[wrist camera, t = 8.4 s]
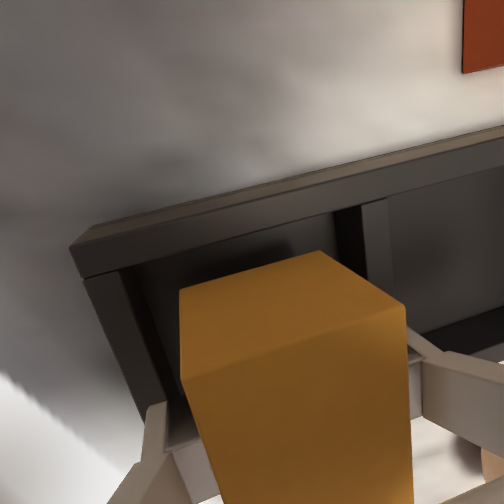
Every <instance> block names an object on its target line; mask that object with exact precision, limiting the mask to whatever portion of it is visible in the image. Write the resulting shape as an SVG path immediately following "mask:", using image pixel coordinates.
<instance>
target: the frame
mask: <svg viewBox="0 0 504 504" xmlns="http://www.w3.org/2000/svg"><path fill="white" fill-rule="evenodd" d="M318 250H320V251H322V252H323V253H325V254H326V255H328V256H329V257H331V258H332V259H334V260H336V261H337V262H339V263H340V264H342V265H343V266H345V267H346V268H348V269H349V270H351V271H353V272H354V273H356V274H357V275H359V276H360V277H362V278H363V279H365V280H366V281H368V282H370V283H371V284H373V285H374V286H376V287H377V288H379V289H380V290H382V291H383V292H385V293H387V294H388V295H390V296H391V297H393V298H394V299H396V300H397V301H399V302H400V303H402V304H403V305H404V306H405V309H406V325H407V326H408V327H409V328H411V329H412V330H414V331H415V332H416V333H418V334H419V335H420V336H422V337H423V338H425V339H426V340H427V341H429V342H430V343H432V344H433V345H434V346H436V347H437V348H439V349H440V350H441V351H443V352H447V351H452V352H456V353H460V354H464V355H468V356H472V357H476V358H479V359H483V360H487V361H491V362H495V363H498V362H501V361H503V360H504V125H502V126H498V127H494V128H490V129H486V130H482V131H478V132H474V133H470V134H466V135H462V136H457V137H453V138H449V139H445V140H441V141H437V142H433V143H429V144H425V145H421V146H417V147H412V148H408V149H404V150H400V151H396V152H392V153H388V154H384V155H380V156H376V157H372V158H367V159H363V160H359V161H355V162H351V163H347V164H343V165H339V166H335V167H331V168H327V169H323V170H318V171H314V172H310V173H306V174H302V175H298V176H294V177H290V178H286V179H282V180H278V181H273V182H269V183H265V184H261V185H257V186H253V187H249V188H245V189H241V190H237V191H233V192H228V193H224V194H220V195H216V196H212V197H208V198H204V199H200V200H196V201H192V202H188V203H184V204H179V205H175V206H171V207H167V208H163V209H159V210H155V211H151V212H147V213H143V214H139V215H134V216H130V217H126V218H122V219H118V220H114V221H110V222H106V223H102V224H98V225H94V226H92V227H91V228H89V229H88V230H87V231H86V232H85V233H84V234H83V235H81V236H80V237H79V238H78V239H77V240H76V241H74V242H73V243H72V244H71V245H70V246H69V251H70V253H71V256H72V258H73V260H74V263H75V265H76V267H77V270H78V272H79V274H80V276H81V278H84V279H83V284H84V286H85V289H86V291H87V293H88V296H89V298H90V300H91V302H92V305H93V307H94V309H95V312H96V314H97V316H98V319H99V321H100V323H101V326H102V328H103V330H104V332H105V335H106V337H107V339H108V342H109V344H110V346H111V349H112V351H113V353H114V356H115V358H116V360H117V362H118V365H119V367H120V369H121V372H122V374H123V376H124V379H125V381H126V383H127V386H128V388H129V390H130V392H131V395H132V397H133V399H134V402H135V404H136V406H137V409H138V411H139V413H140V416H141V418H142V420H143V422H144V425H145V421H146V413H147V409H148V408H149V406H151V405H154V404H157V403H161V402H164V401H168V400H169V399H172V398H176V397H179V396H182V395H185V391H184V388H183V385H182V382H181V372H180V317H179V290H180V289H183V288H186V287H190V286H193V285H197V284H200V283H204V282H207V281H211V280H215V279H218V278H222V277H225V276H229V275H232V274H236V273H239V272H243V271H247V270H250V269H254V268H257V267H261V266H264V265H268V264H271V263H275V262H278V261H282V260H286V259H289V258H293V257H296V256H300V255H303V254H307V253H310V252H314V251H318Z"/></svg>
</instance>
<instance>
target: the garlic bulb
mask: <svg viewBox="0 0 504 504" xmlns="http://www.w3.org/2000/svg"><path fill="white" fill-rule="evenodd" d="M481 461H482V469H483V476H484V479H485V482H486V483H487V482H489V481H492V480H494V479H496V478H498V477H501V476H503V468H504V459H503V458H501V457H499V456H497V455H495V454H493V453H491V452H489V451H487V450H485V449H483V448H481Z"/></svg>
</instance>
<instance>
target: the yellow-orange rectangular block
mask: <svg viewBox="0 0 504 504" xmlns="http://www.w3.org/2000/svg"><path fill="white" fill-rule="evenodd" d="M179 317H180V372H181V382H182V385H183V388H184V391H185V394H186V397H187V399H188V402H189V405H190V408H191V411H192V414H193V417H194V420H195V422H196V425H197V428H198V431H199V434H200V437H201V440H202V442H203V445H204V448H205V451H206V454H207V457H208V460H209V463H210V465H211V468H212V471H213V474H214V477H215V480H216V483H217V486H218V488H219V491H220V494H221V497H222V500H223V503H224V504H414V491H413V468H412V445H411V423H410V400H409V377H408V354H407V331H406V309H405V306H404V305H403V304H402V303H400V302H399V301H397V300H396V299H394V298H393V297H391V296H390V295H388V294H387V293H385V292H383V291H382V290H380V289H379V288H377V287H376V286H374V285H373V284H371V283H370V282H368V281H366V280H365V279H363V278H362V277H360V276H359V275H357V274H356V273H354V272H353V271H351V270H349V269H348V268H346V267H345V266H343V265H342V264H340V263H339V262H337V261H336V260H334V259H332V258H331V257H329V256H328V255H326V254H325V253H323V252H322V251H320V250H318V251H314V252H310V253H307V254H303V255H300V256H296V257H293V258H289V259H286V260H282V261H278V262H275V263H271V264H268V265H264V266H261V267H257V268H254V269H250V270H247V271H243V272H239V273H236V274H232V275H229V276H225V277H222V278H218V279H215V280H211V281H207V282H204V283H200V284H197V285H193V286H190V287H186V288H183V289H180V290H179Z"/></svg>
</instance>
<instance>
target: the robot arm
mask: <svg viewBox="0 0 504 504" xmlns="http://www.w3.org/2000/svg"><path fill="white" fill-rule="evenodd" d="M406 331H407V354H408V377H409V400H410V420H412V419H415V418H418V417H421V416H423V418H425V419H427V420H429V421H431V422H433V423H435V424H437V425H439V426H441V427H443V428H445V429H447V430H449V431H451V432H452V433H454V434H456V435H458V436H460V437H462V438H464V439H466V440H468V441H470V442H472V443H474V444H476V445H478V446H480V447H481V448H483V449H485V450H487V451H489V452H491V453H493V454H495V455H497V456H499V457H501V458H503V459H504V365H503V364H499V363H495V362H491V361H487V360H483V359H479V358H476V357H472V356H468V355H464V354H460V353H456V352H452V351H447V352H443V351H441V350H440V349H439V348H437V347H436V346H434V345H433V344H432V343H430V342H429V341H427V340H426V339H425V338H423V337H422V336H420V335H419V334H418V333H416V332H415V331H414V330H412V329H411V328H409V327H408V326H407V325H406ZM219 494H220V491H219V488H218V486H217V483H216V480H215V477H214V474H213V471H212V468H211V465H210V463H209V460H208V457H207V454H206V451H205V448H204V445H203V442H202V440H201V437H200V434H199V431H198V428H197V425H196V422H195V420H194V417H193V414H192V411H191V408H190V405H189V402H188V399H187V397H186V394H185V395H182V396H179V397H176V398H172V399H169V400H168V401H164V402H161V403H157V404H154V405H151V406H149V408H148V409H147V413H146V421H145V429H144V437H143V445H142V454H141V462H138V463H136V464H134V465H133V467H132V468H131V470H130V471H129V472H128V474H127V475H126V477H125V478H124V480H123V481H122V483H121V484H120V485H119V487H118V488H117V490H116V491H115V493H114V494H113V496H112V497H111V498H110V500H109V501H108V503H107V504H198V503H200V502H203V501H205V500H207V499H210V498H212V497H214V496H217V495H219ZM440 504H504V468H503V476H501V477H498V478H496V479H494V480H492V481H489V482H487V483H485V484H483V485H480V486H478V487H476V488H474V489H471V490H469V491H467V492H465V493H462V494H460V495H458V496H456V497H453V498H451V499H449V500H447V501H444V502H442V503H440Z"/></svg>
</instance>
